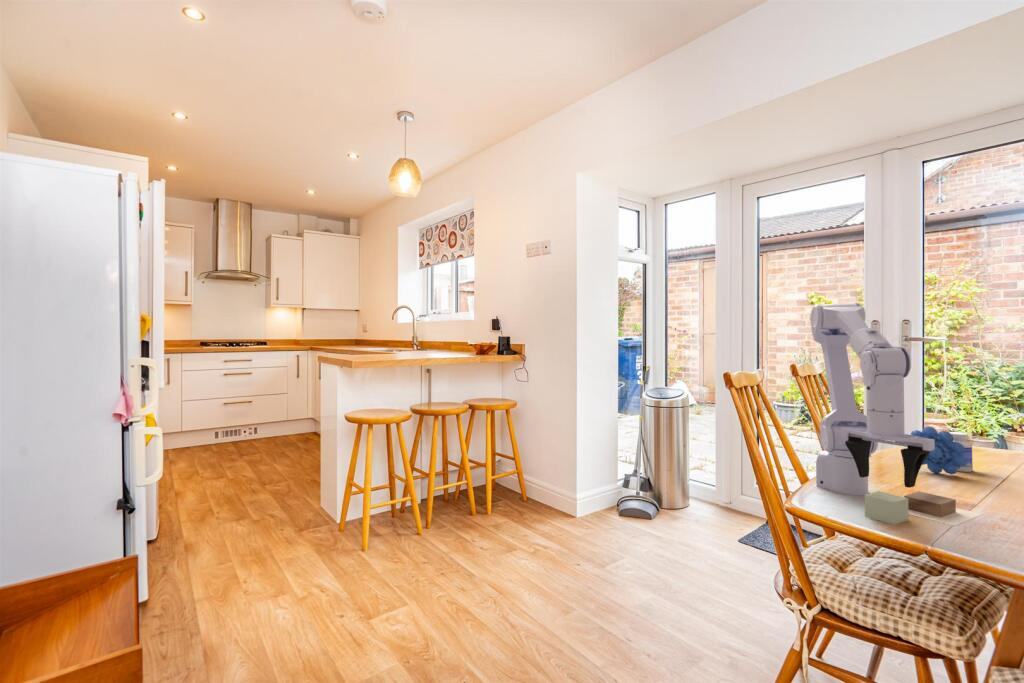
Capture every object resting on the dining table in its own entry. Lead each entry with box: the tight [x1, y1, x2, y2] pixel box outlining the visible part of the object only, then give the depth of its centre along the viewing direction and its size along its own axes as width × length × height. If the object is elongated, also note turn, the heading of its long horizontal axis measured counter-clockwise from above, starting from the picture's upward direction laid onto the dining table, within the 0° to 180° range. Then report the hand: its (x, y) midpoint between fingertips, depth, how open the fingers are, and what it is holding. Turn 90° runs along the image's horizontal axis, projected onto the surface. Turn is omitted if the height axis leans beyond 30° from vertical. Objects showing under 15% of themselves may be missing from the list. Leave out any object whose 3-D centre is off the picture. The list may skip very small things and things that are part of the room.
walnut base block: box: [903, 491, 957, 518], centre depth 97 cm, size 6×6×2 cm
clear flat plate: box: [908, 507, 983, 527], centre depth 97 cm, size 12×12×1 cm
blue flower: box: [910, 425, 967, 475], centre depth 125 cm, size 12×7×12 cm, turn 43°
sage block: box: [864, 490, 909, 526], centre depth 93 cm, size 5×5×5 cm
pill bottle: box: [948, 431, 974, 473], centre depth 129 cm, size 5×5×10 cm
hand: (886, 481), depth 93 cm, fingers open, 7 cm apart
